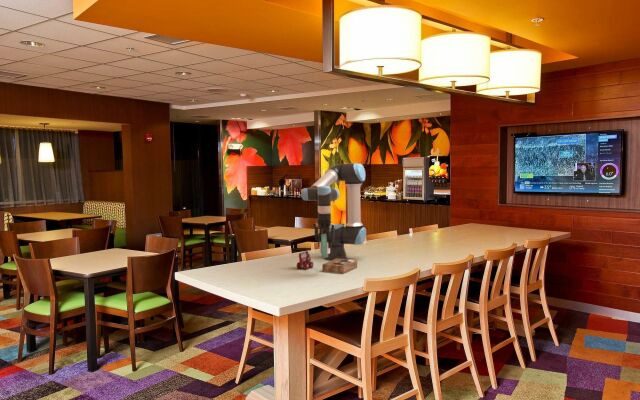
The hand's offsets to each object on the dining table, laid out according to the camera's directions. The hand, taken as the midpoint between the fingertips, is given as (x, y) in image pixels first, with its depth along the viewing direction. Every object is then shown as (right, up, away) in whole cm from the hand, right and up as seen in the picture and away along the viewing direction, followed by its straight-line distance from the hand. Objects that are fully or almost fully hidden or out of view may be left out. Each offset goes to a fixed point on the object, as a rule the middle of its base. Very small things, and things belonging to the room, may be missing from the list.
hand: (324, 253), depth 277 cm
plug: (0, -2, 0) cm, 2 cm away
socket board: (+9, -12, +15) cm, 21 cm away
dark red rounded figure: (-12, -12, +19) cm, 25 cm away
